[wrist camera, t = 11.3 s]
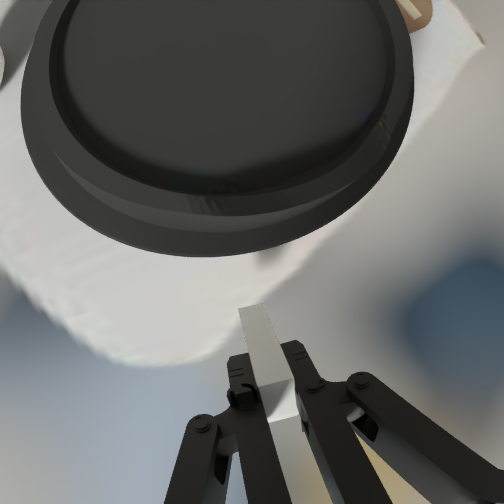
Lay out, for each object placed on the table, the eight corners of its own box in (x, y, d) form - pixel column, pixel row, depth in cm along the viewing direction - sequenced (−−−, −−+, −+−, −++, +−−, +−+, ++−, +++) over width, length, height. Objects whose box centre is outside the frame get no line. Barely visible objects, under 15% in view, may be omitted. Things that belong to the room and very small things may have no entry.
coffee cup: (124, 100, 15) (-28, 0, 1) (248, 49, 15) (335, -113, 1) (176, 216, 18) (97, 380, 4) (298, 163, 18) (500, 186, 4)
